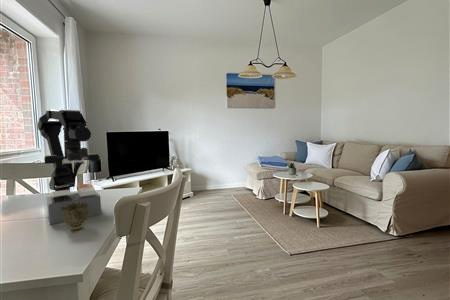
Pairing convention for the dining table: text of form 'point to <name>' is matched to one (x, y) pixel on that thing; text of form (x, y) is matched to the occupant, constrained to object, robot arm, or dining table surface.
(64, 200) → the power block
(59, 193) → the block
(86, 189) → the block
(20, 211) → the dining table surface
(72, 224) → the cup
